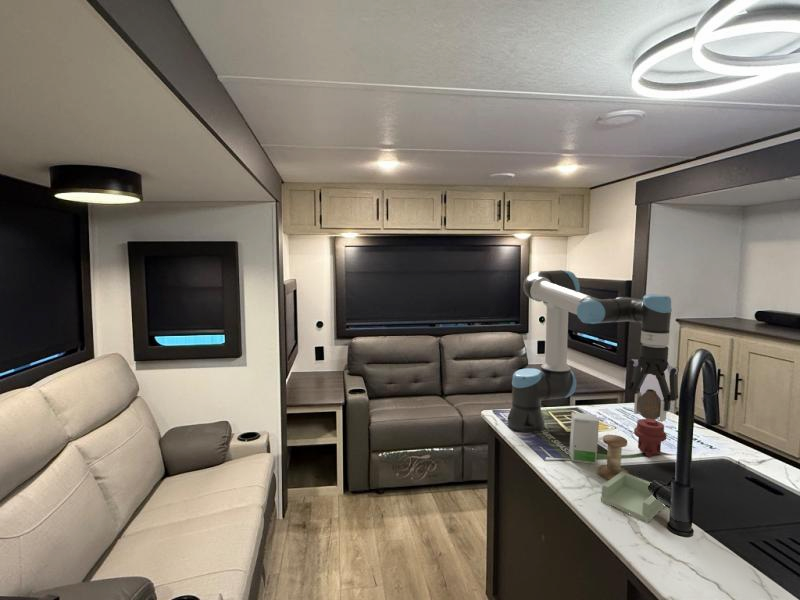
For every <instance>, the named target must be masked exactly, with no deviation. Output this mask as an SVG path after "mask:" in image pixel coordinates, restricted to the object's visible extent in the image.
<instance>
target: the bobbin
mask: <svg viewBox="0 0 800 600" xmlns="http://www.w3.org/2000/svg"><path fill="white" fill-rule="evenodd" d="M602 442H603V443H604V444H606V445H607V451H606V452H607V454H606V457H607V458H606V464H602V465H599V466H598V469H597V475H599V476H600V477H601V478H603V479H604V480H606V481H609V480H610V479H612V478H613V477H615V476H616V475H617V474H619V473H620V472H625V473H628V474H630V473H629V471H627V470H626V469H624V468H623V467H621V464H622V451H623V450H622V449H623V448H624V447H627V446H628V440H627V439H626V438H625V437H623V436H621V435H617V434H605V435H603V437H602Z"/></svg>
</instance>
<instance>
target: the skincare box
mask: <svg viewBox="0 0 800 600" xmlns="http://www.w3.org/2000/svg"><path fill="white" fill-rule="evenodd" d="M570 418H571V420H570V421H571V422H570V433H569V434H570V436H569V449H568V450H569V453H568V454H569V455H570V457H569V458H570V459H571V461H572V462H575V463H576V462H577V463H586V464H593V465H596V464H597V459H598V458H597V457H598V443H599V441H598V440H599V429H600V427H599V426H600V425H599V424H600V420H599V419H598V417H597V414H591V413H584V412H573V411H572V412H571V417H570Z"/></svg>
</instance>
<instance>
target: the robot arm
mask: <svg viewBox="0 0 800 600" xmlns="http://www.w3.org/2000/svg"><path fill="white" fill-rule="evenodd" d="M522 287H523V292H524V293H525V295H526V296H527V297H528V298H529V299H531V300H533V301H535V302H539V303H541V302H542V303H543V305H545V306H546V313H545V314H546V320H545V322H546V323H545V358H544V359H545V360H544V363H543V364H541V367H540V368H541V370H540V369H538V368H533V367H532V368H528V367H527V368H526V367H525V368H522V369H518V370H516V371H515V372H513V374H512V379H511V380H512V381H511V385H512V386H511V387H512V388H511V407H510V410H509V413H508V415H507V419H506V420H507V422H506V424H507V426H508V427H509V428H510V429H512V430H514V431H517V432H520V433H521V432H522V433H531V434H532V433H539V432H542V431H544V429H545V422H546V421H545V419H544V415H543V412H542V408H541V407H542V401H546V400H547V401H548V400H558V399H565V398H569V397H571V396H572V395H573V394H574V393H575V390H576V388H577V379H576V377H575V376H576V375H575V373H574V372H573V371H572V369H571V367H570V366H569V365H568V363H567V362H568V361H567V360H568V335H569V333H568V331H569V313H571V314H574V315H577V318H578V319H579V320H580V322H582V323H583V324H592V325H596V324H604V323H605V324H606V323H624V322H633V323H638V324H641V330H640V343H641V344H640V345H639V357H638V359H635V358H632V359H629V361H628V365H629V370H628V375H627V380H626V386H625V389H626V390H629V391H630V392H631V393H632V394H631V402H632V403H634V407H633V408H634V409H633V414H635V415H638V414H640V413H639V411H638V401H639V398H640V397H641V396H642V392H640V391H641V390H640V389H641V388H642V386H643V384H644V381H645V379H646V378H647V376H648V375H652V376H655V378H656V380H657V382H658V385H659V389H660V391H661V394H662V398H663V399H661V407H660V417H659V422H664V421H666V420H667V412H668V411H670V410H671V404H672V403H671V402H672V401H673V402H675V401H677V400H678V399H679V387H678V384H679V383H678V374H679V371H680V368H679V367H678V366H676V367H674V366H671V365H670V364H669V362H668V359H669V347H668V346H670V345H669V344H670V331H671V330H670V326H671V325H670V324H671V316H672V298H671V297H670V296H669V295H665V294H645V295H644V296H643V297H642V299H639V298H633V297H629V296H618V297H616V298H606V299H605V298H604V299H601V298H597V297H593V296H591V295H589V294H585V293H582V292H581V291H580V290H581V289H580V288H581V287H580V281H579V279H578V277H577V276H576V274H574V272H572V271H570V270H561V269H560V270H537V271H533V272H531V273H530V274H528V275H527V276H526V278H525V279H524V280H523V285H522ZM638 366H640V368H641V370H640V372H639V375H638V377H637V379H636V375H637V369H638ZM666 370H668V371H667V372H668V374H669V385H668V382H667V379H666V373H665V371H666ZM635 379H636V381H635Z"/></svg>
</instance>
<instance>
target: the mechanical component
mask: <svg viewBox="0 0 800 600" xmlns="http://www.w3.org/2000/svg"><path fill="white" fill-rule="evenodd" d="M633 434H634V435H635V436H636V437H637V438H638V441H637V443H638V444H637V447H638V449H639V450H640V452H642V453H644V455H645V456H646V457H648V458H651V457H652V456H657V454H658V455H659V454H660V453H661V448H662V447H661V446H662V442H664V441H666V440H667V432H665V424H663V423H662V422H661V421H658V420H657V419H655V420H651V419H646V418H642V419H638V420H637V422H636V426H635V427H634V429H633Z"/></svg>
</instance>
